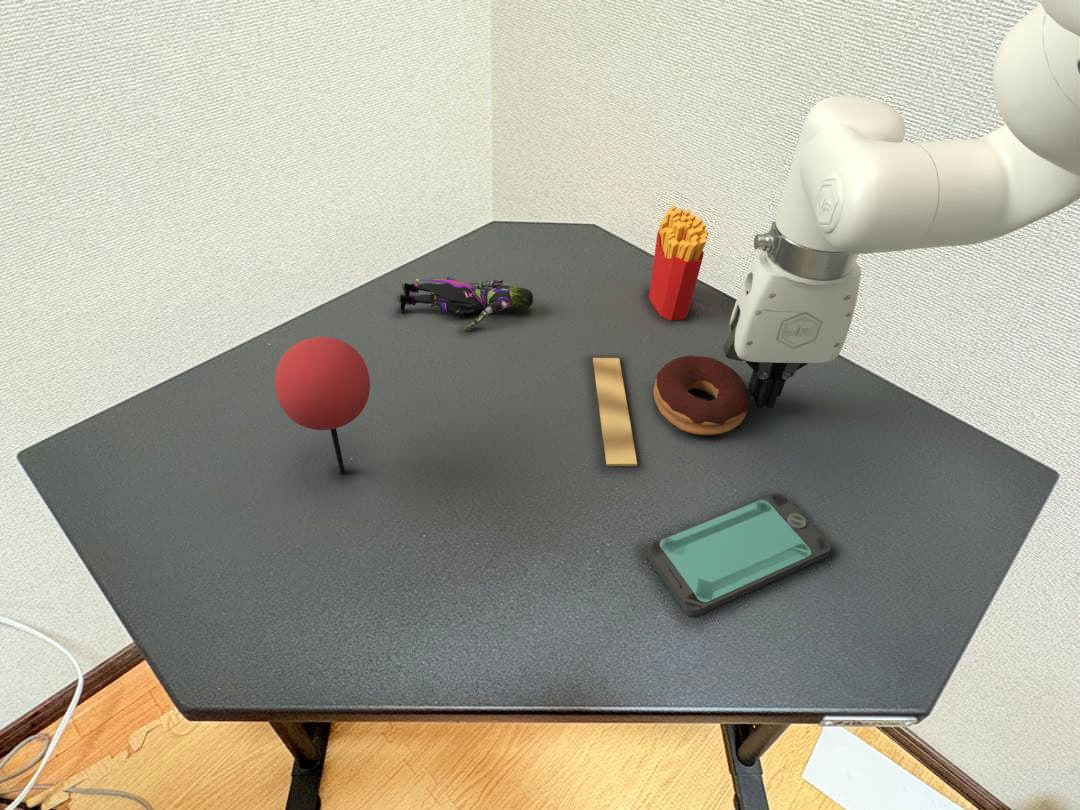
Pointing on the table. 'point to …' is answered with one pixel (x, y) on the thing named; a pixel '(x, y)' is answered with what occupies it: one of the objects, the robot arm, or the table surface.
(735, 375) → the donut
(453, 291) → the character figure
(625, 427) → the strip
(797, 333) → the robot arm
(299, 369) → the lollipop
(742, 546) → the smartphone
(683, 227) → the french fries
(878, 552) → the table surface
